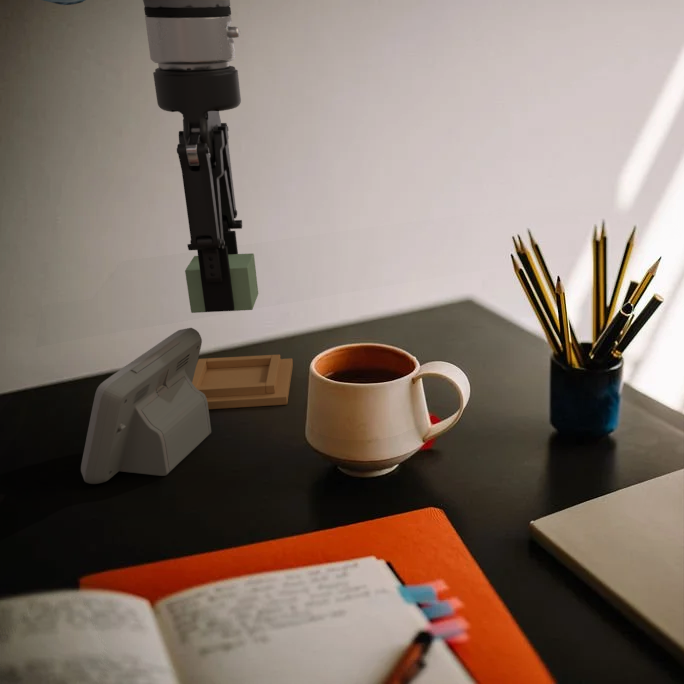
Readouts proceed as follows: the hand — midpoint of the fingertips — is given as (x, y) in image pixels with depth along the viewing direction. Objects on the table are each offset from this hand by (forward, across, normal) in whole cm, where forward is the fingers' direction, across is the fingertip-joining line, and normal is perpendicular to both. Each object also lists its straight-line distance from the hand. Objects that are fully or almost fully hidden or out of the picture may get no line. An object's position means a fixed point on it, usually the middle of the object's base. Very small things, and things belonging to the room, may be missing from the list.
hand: (224, 300), depth 93 cm
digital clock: (+13, -7, +7) cm, 17 cm away
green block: (0, 0, 0) cm, 0 cm away
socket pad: (+13, +7, +1) cm, 15 cm away
